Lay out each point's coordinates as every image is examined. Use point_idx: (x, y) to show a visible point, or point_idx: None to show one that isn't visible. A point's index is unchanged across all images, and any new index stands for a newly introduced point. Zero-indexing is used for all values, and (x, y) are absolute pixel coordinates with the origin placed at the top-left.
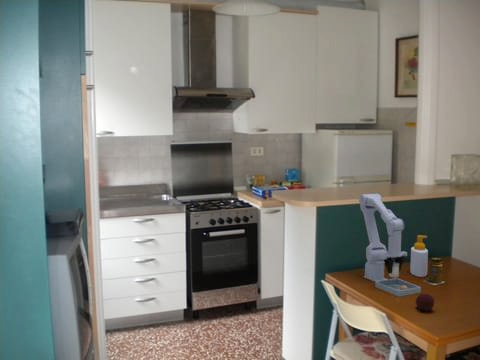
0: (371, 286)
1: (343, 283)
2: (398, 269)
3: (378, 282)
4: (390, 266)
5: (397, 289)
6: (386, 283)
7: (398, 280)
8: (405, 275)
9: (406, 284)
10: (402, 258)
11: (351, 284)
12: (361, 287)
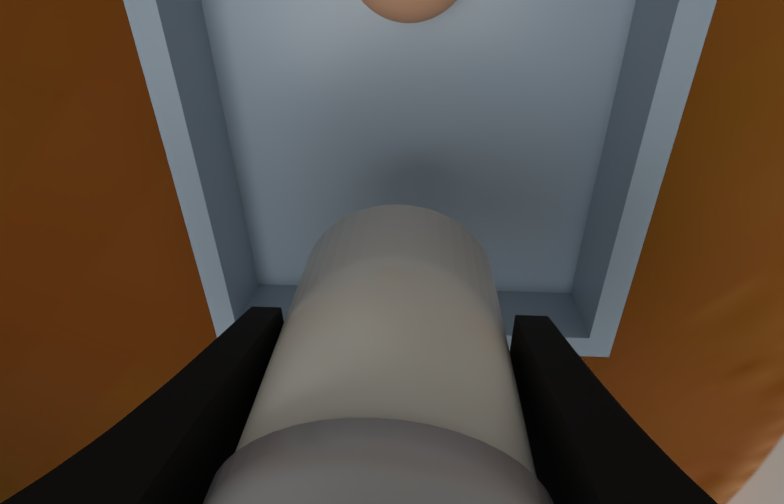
0: None
1: (726, 498)
2: (327, 325)
3: (600, 323)
4: (695, 486)
5: (410, 108)
6: None
7: (234, 289)
8: (10, 416)
9: (205, 134)
10: None
11: (692, 459)
12: (701, 371)
